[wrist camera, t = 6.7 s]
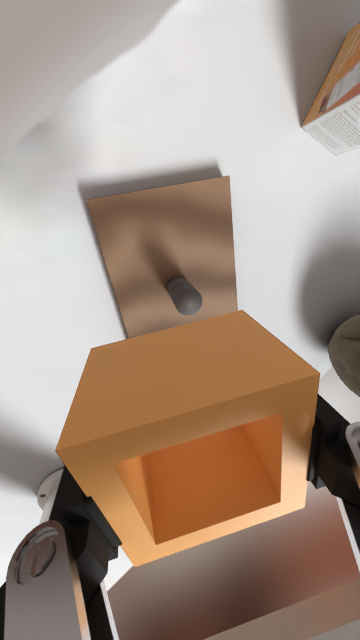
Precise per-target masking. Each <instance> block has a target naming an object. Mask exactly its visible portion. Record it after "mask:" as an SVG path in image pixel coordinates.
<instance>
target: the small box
mask: <svg viewBox="0 0 360 640" xmlns="http://www.w3.org/2000/svg"><path fill="white" fill-rule="evenodd" d="M301 128H302V129H304V130H305V131H306V132H307V133H308V134H310V135H311V136H312V137H313V138H314V139H316V140H317V141H318V142H319V143H321V144H322V145H323V146H324V147H325V148H327V149H328V150H329V151H330V152H332V153H333V154H334V155H335V156H337V155H340V154H343V153H346V152H349V151H352V150H355V149H358V148H360V22H359V23H358V24H357V25H356V26H355V27H354V28H352V29H351V30H350V31H349V32H348V34H347V35H346V38H345V40H344V42H343V44H342V46H341V48H340V50H339V53H338V55H337V57H336V59H335V61H334V63H333V65H332V67H331V69H330V71H329V73H328V75H327V77H326V79H325V81H324V83H323V85H322V87H321V89H320V91H319V92H318V94H317V96H316V98H315V100H314V102H313V104H312V106H311V108H310V110H309V112H308V114H307V116H306V118H305V120H304V122H303V124H302V126H301Z"/></svg>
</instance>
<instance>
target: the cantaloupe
mask: <svg viewBox="0 0 360 640" xmlns="http://www.w3.org/2000/svg"><path fill="white" fill-rule="evenodd" d="M328 353H329V358H330V361H331V363H332V365H333V367H334V369H335V371H336V373H337V374H338V376H339V377H340V379H341V380H342V381H343V382H344V384H345V385H346V386H347V387H348V388H349V389H350V390H351V391H353V392H354V393H355V394H356V395H358V396H359V397H360V314H358V315H356V316H354V317H352V318H350V319H348V320H346V321H345V322H343V323H342V324H341V325H340V326H339V327H338V328H337V329H336V331H335V332H334V334H333V336H332V338H331V340H330V342H329V345H328Z"/></svg>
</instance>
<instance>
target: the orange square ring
mask: <svg viewBox="0 0 360 640" xmlns="http://www.w3.org/2000/svg"><path fill="white" fill-rule="evenodd" d="M319 378H320V373H319V372H318V371H317V370H316V369H314V368H313V367H312V366H311V365H309V364H308V363H307V362H306V361H305V360H303V359H302V358H301V357H300V356H298V355H297V354H296V353H295V352H293V351H292V350H291V349H290V348H289V347H287V346H286V345H285V344H284V343H282V342H281V341H280V340H279V339H277V338H276V337H275V336H274V335H273V334H271V333H270V332H269V331H268V330H266V329H265V328H264V327H263V326H261V325H260V324H259V323H258V322H257V321H255V320H254V319H253V318H252V317H250V316H249V315H248V314H247V313H246V312H244V311H243V310H239V311H235V312H231V313H228V314H224V315H220V316H216V317H212V318H208V319H204V320H200V321H196V322H192V323H189V324H185V325H181V326H177V327H173V328H169V329H165V330H161V331H157V332H153V333H149V334H146V335H142V336H138V337H134V338H130V339H126V340H122V341H118V342H114V343H110V344H107V345H103V346H99V347H95V348H91V350H90V353H89V356H88V359H87V362H86V365H85V368H84V370H83V373H82V376H81V379H80V382H79V385H78V388H77V390H76V393H75V396H74V399H73V402H72V405H71V407H70V410H69V413H68V416H67V419H66V422H65V425H64V427H63V430H62V433H61V436H60V439H59V442H58V445H57V447H56V450H55V451H56V453H57V454H58V455H59V457H60V458H61V460H62V461H63V463H64V464H65V466H66V467H67V469H68V470H69V471H70V473H71V474H72V476H73V477H74V479H75V480H76V482H77V483H78V485H79V486H80V488H81V489H82V490H83V492H84V493H85V495H86V496H87V497H89V496H91V497H92V498H93V500H94V501H95V503H96V504H97V506H98V507H99V509H100V510H101V512H102V513H103V515H104V516H105V518H106V519H107V521H108V522H109V524H110V525H111V527H112V528H113V530H114V531H115V533H116V534H117V536H118V537H119V539H120V540H121V542H122V545H120V546H121V547H122V549H123V550H124V552H125V553H126V555H127V556H128V558H129V559H130V561H131V562H132V563H133V565H134V566H135V567H136V566H139V565H142V564H145V563H148V562H151V561H153V560H156V559H159V558H162V557H165V556H168V555H171V554H173V553H176V552H179V551H182V550H185V549H188V548H190V547H193V546H196V545H199V544H202V543H205V542H208V541H210V540H213V539H216V538H219V537H221V536H225V535H227V534H230V533H233V532H236V531H239V530H242V529H245V528H247V527H250V526H253V525H256V524H259V523H262V522H265V521H267V520H270V519H273V518H276V517H279V516H282V515H285V514H287V513H290V512H293V511H296V510H299V509H301V508H304V507H305V498H306V490H307V482H308V481H307V473H308V464H309V455H310V446H311V437H312V428H313V426H314V421H315V413H316V404H317V396H318V386H319Z"/></svg>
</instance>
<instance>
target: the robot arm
mask: <svg viewBox="0 0 360 640" xmlns="http://www.w3.org/2000/svg"><path fill="white" fill-rule="evenodd" d="M307 481H311V482H312V483H313V485H314V486H315V488H316V489H318V488H321V487H324V486H326V487H327V488H328V490H329V491H330V492H331V494H332V495H334V496H336V498H337V502H338V504H339V508H340V511H341V514H342V517H343V520H344V523H345V527H346V530H347V533H348V536H349V539H350V542H351V546H352V549H353V552H354V555H355V558H356V561H357V565H358V568H359V571H360V422H355V423H352V424H350V423H349V422H348V421H347V420H346V419H344V418H343V417H342V416H341V415H340V414H339V413H338V412H337V411H336V410H335V409H334V408H333V407H332V406H331V405H330V404H329V403H327V402H326V401H325V400H324V399H323V398H322V397H321V396H320V395H319V394H318V396H317V404H316V413H315V421H314V426H313V428H312V437H311V446H310V455H309V464H308V473H307ZM37 502H38V504H39V506H40V507H41V509H42V510H43V514H42V517H41V520H40V523H39V525H38V526H36V527H35V528H34V529H33V530H32V531H31V532H29V533H28V534H27V535H26V536H25V538H24V539H23V540H22V541H21V543H20V544H19V545H18V547H17V549H16V551H15V552H14V554H13V556H12V558H11V561H10V563H9V566H8V571H7V577H6V582H5V583H4V584H3V585H2V586H1V588H0V640H119V638H118V634H117V630H116V627H115V622H114V619H113V615H112V611H111V607H110V603H109V599H108V595H107V591H106V587H105V584H104V580H103V579H104V577H105V576H106V574H107V571H108V561H110V560H112V559H115V558H118V546H120V545H122V542H121V540H120V539H119V537H118V536H117V534H116V533H115V531H114V530H113V528H112V527H111V525H110V524H109V522H108V521H107V519H106V518H105V516H104V515H103V513H102V512H101V510H100V509H99V507H98V506H97V504H96V503H95V501H94V500H93V498H92V497H91V496H89V497H87V496H86V495H85V493H84V492H83V490H82V489H81V488H80V486H79V485H78V483H77V482H76V480H75V479H74V477H73V476H72V474H71V473H70V471H69V470H68V469H67V467H66V466H65V465H64V468H63V469H60V470H58V471H56V472H54V473H53V474H51V475H50V476H48V477H47V478H46V479H45V480H44V482H43V483H42V484H41V487H40V489H39V492H38V495H37ZM204 640H360V579H358V580H355V581H353V582H350V583H347V584H345V585H342V586H340V587H337V588H335V589H332V590H329V591H327V592H324V593H321V594H319V595H316V596H314V597H311V598H309V599H306V600H303V601H301V602H298V603H296V604H293V605H291V606H289V607H286V608H283V609H280V610H278V611H275V612H273V613H271V614H268V615H265V616H262V617H260V618H257V619H255V620H253V621H250V622H248V623H245V624H242V625H240V626H237V627H235V628H232V629H229V630H227V631H224V632H222V633H219V634H217V635H214V636H212V637H209V638H206V639H204Z"/></svg>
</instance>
